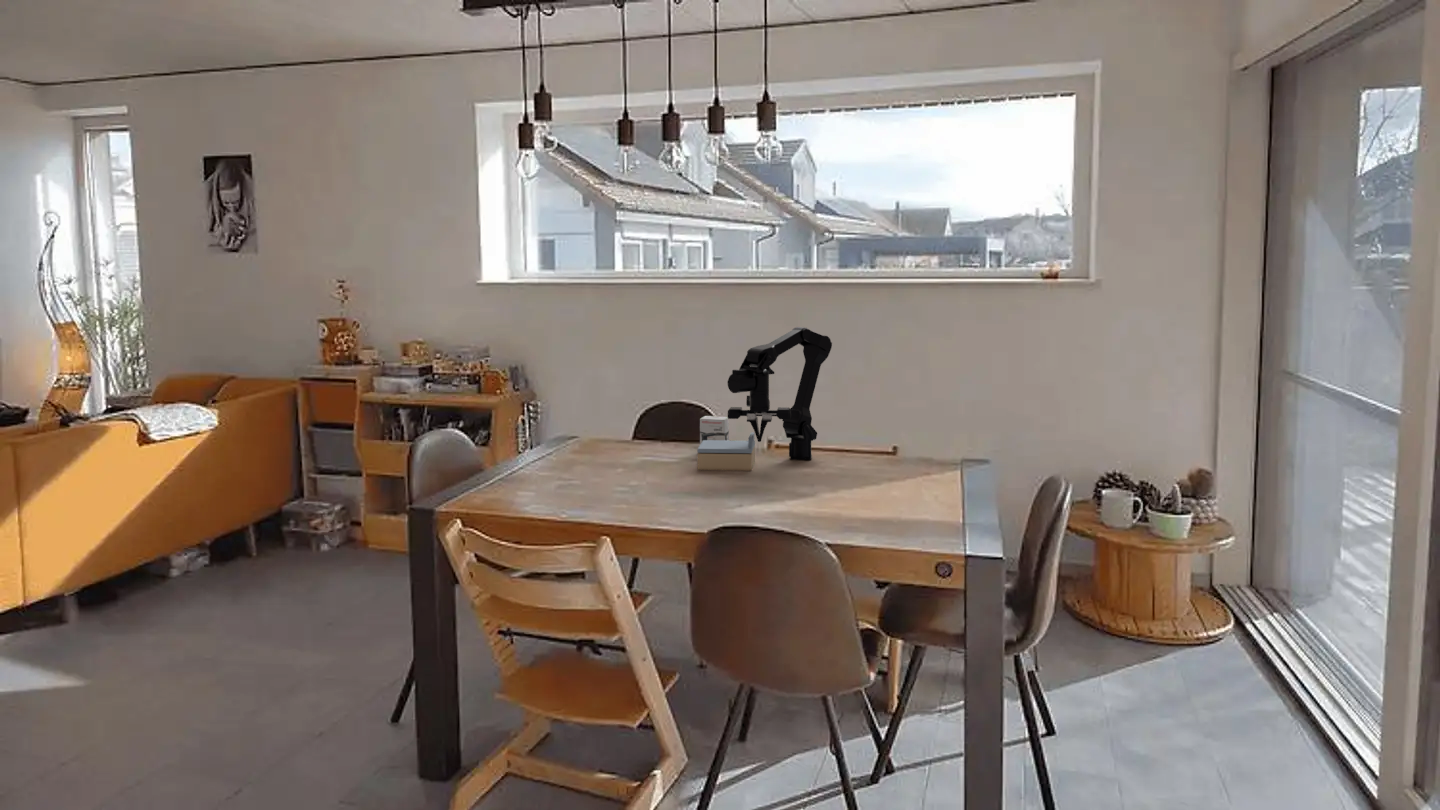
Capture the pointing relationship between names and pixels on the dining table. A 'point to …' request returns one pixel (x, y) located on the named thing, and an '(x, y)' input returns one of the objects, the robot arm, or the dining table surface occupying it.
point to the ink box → (714, 428)
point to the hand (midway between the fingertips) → (759, 441)
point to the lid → (727, 446)
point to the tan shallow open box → (726, 461)
